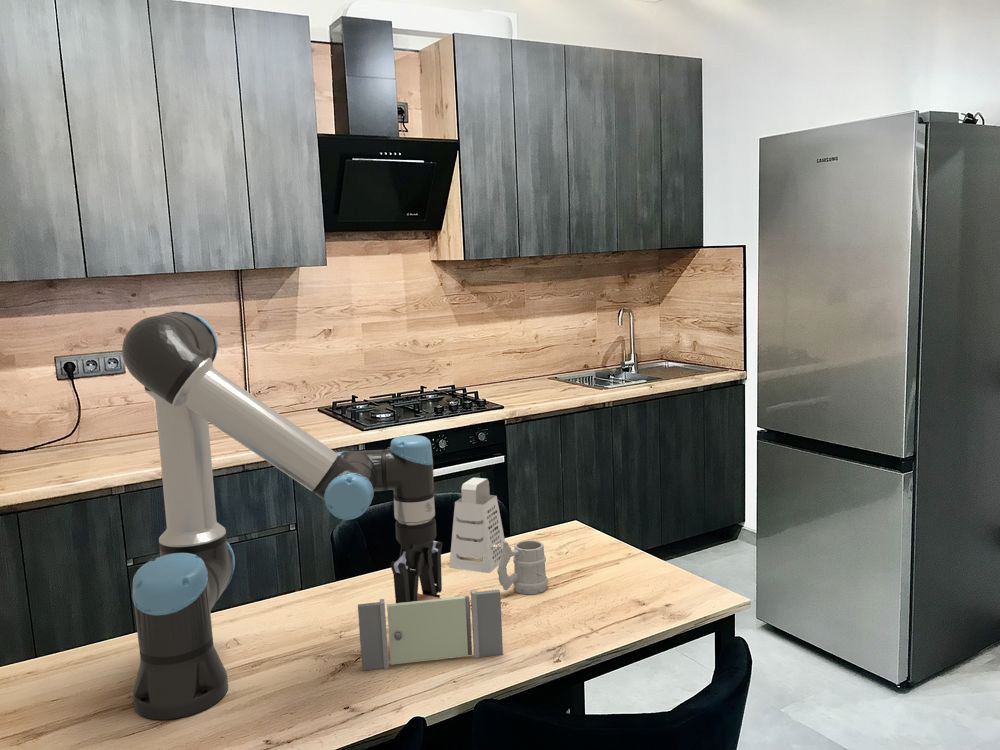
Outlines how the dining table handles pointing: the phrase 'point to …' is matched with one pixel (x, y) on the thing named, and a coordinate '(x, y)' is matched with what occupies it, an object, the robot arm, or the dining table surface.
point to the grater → (476, 528)
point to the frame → (483, 624)
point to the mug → (524, 567)
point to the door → (429, 629)
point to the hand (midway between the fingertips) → (421, 637)
